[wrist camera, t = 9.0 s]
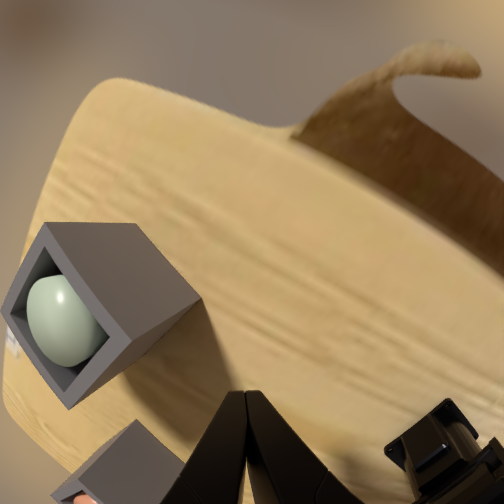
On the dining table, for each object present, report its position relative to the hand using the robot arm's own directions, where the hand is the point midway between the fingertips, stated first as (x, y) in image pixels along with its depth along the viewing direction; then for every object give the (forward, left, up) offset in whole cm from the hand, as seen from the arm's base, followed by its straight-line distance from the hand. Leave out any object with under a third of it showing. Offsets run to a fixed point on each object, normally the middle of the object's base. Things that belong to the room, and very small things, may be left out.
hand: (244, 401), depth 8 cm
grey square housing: (-3, +20, -12) cm, 23 cm away
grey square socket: (+7, +7, -12) cm, 16 cm away
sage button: (+7, +7, -6) cm, 12 cm away
